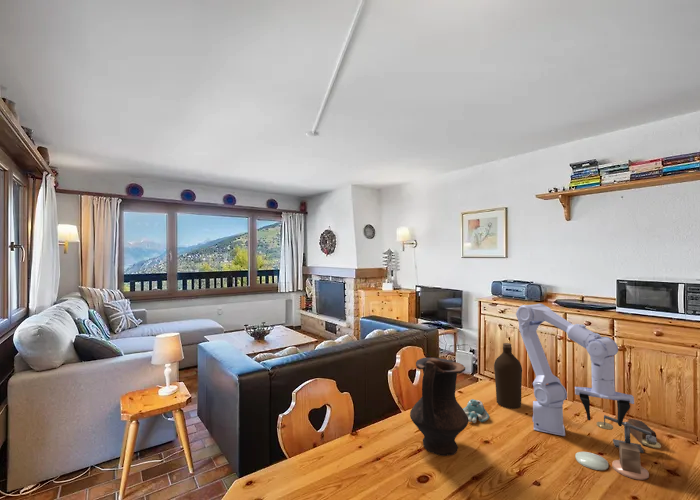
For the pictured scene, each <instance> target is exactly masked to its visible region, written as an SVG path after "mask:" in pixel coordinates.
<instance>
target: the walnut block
mask: <svg viewBox="0 0 700 500" xmlns="http://www.w3.org/2000/svg"><path fill="white" fill-rule="evenodd" d="M618 451H619V460H620V464H621V467H622V470H625V471H629V472H634V473H638V474H641V466H642V465H641V453H640V451H639V449H638V447H637V445H633V444H628V443H623V442H619V448H618Z"/></svg>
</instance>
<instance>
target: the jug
mask: <svg viewBox="0 0 700 500" xmlns="http://www.w3.org/2000/svg"><path fill="white" fill-rule="evenodd" d="M415 367H416V368H417V369H419V370H422V374H423V375H422V382H421V383H422V384H421V397H420V399H418V401H417V402H415V404H414V405H413V406H412V408H411V409H410V412H409V417H410V419H411V421H412V423H413V424H414V425H415V426H416V428H417V429H418V430H419V431H420V432H421V434H422V436H423V438H422V446H423V448H424V449H425V450H426V451H427V452H430V453H431V454H434V455H437V456H441V457H444V456H446V457H448V456H453V455H455V454H456V453H457V452H458V450H459V447H458V446H459V445H458V444H457V442H456V438H457V436H458V435H459V434H460V433H461V432H462V431H464V430H465V429H466V428H467V427H468V425H469V423H470V422H469V420H468V417H467V415H466V413H465V412H464V410H463V407H462V405H460V403H459V402H458V400H457V398H456V388H457V387H456V386H457V376H458V374H462V373H463V372H465V371H466V367H465V365H463V364H461V363H460V362H456V361H454V360H452V359H451V360H450V359H446V358H438V357H423V358H419V359H418V360H416V361H415ZM447 455H448V456H447Z"/></svg>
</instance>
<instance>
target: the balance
mask: <svg viewBox="0 0 700 500" xmlns="http://www.w3.org/2000/svg"><path fill="white" fill-rule="evenodd" d="M606 420H608V421H611V422H614V423H616V424H618V421H617V419H616V418H614V417H611V416H609V415H606V414H604V415H603V421H596V423H595V424H596V426H597V427H598V428H600V429H603V430H608V431H612V430H613V429H614V426H613V424H610V423H608V422H606ZM622 426H623V427H624V429H623V430H624V440H621V439H620V440H619V439H614V438H613V439H612V442H613V445H614V448H615V449H616V448H617V449H619V442H623V443H628V444H633V445H637V447H638V449H639V451H640V454H641V453H642V454H644V453H645V452H644V449H643V447H642V444H641V443H639V444H638V443H635V442H631V433H630V428H632V429H635V430H637V431H640V432H643V433H645V434H648V435H646V439H642V443H643V444H644V445H643V446H645V445H646V446H645V447H649V448H653V449H660V448H661V447H662V445H661V443H660V442H658V441H657V442H656V440H657V439H656V438H657V436H656V437H654V436H652V433H651V432H649V431H646V430H644V429H641V428H638V427H636V426H633V425H630V423H628V422H627V421H623V422H622Z"/></svg>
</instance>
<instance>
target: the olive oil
mask: <svg viewBox="0 0 700 500" xmlns="http://www.w3.org/2000/svg"><path fill="white" fill-rule="evenodd" d="M493 370H494V371H493V372H494V381H495V382H494V383H495V396H496V397H495V398H496V403H498V404H499V406H500V405H501V407H502V406H503V408H505V407H506V409H511V408H512V409H519V408H521V407H522V381H523V368H522V364H521V362H520V360H519V359H518V358H517V357H516V356H515V354H513V349H512V344H511V343H509V342H503V343H502V353H501V354H500V355H498V357H497V358H496V359H495V360H494V363H493ZM498 404H497V405H498ZM512 409H511V410H512Z"/></svg>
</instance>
